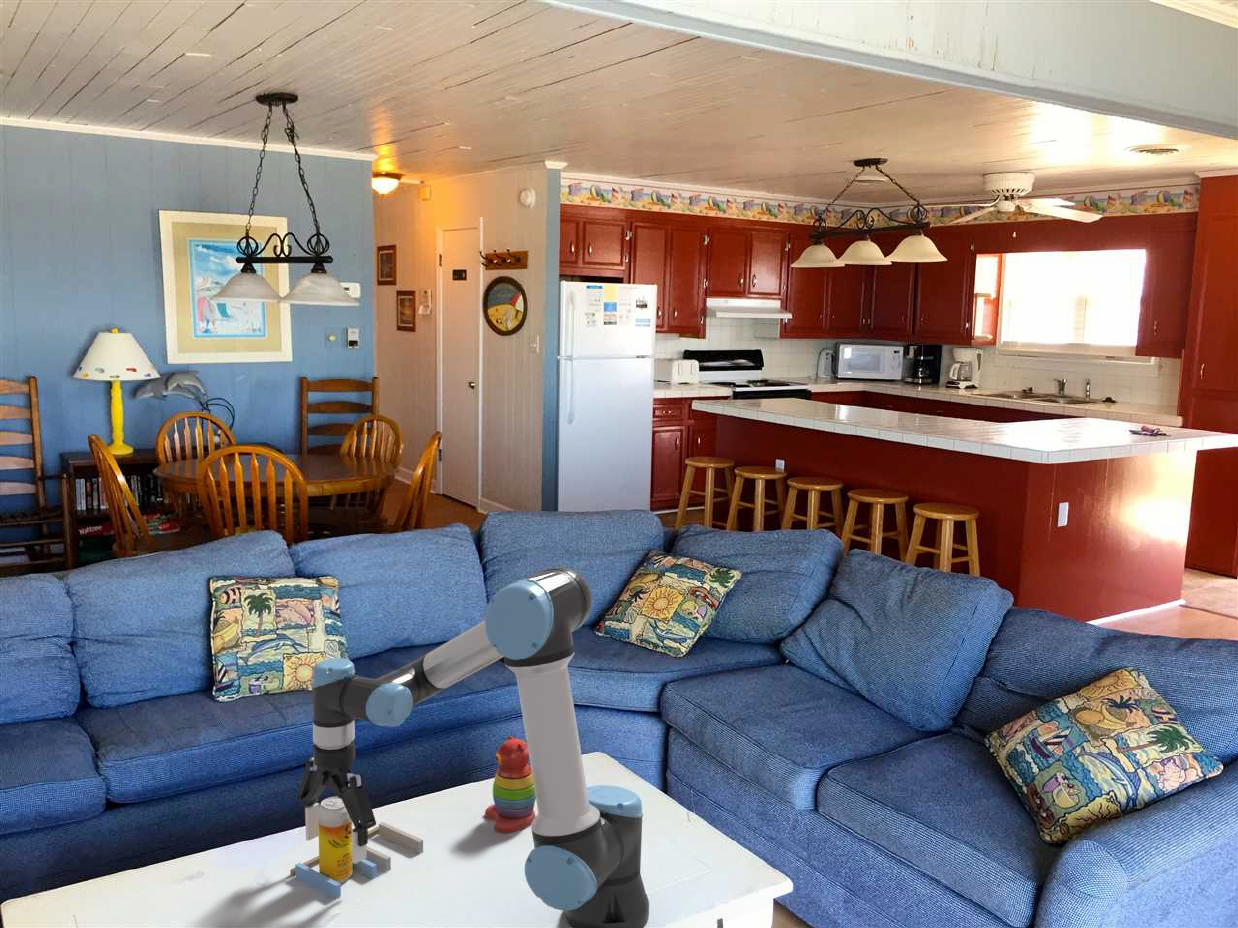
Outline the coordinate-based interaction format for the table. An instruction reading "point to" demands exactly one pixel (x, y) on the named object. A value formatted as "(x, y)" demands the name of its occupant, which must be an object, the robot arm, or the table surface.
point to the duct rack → (365, 865)
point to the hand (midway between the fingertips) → (335, 848)
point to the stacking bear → (512, 788)
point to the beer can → (335, 840)
